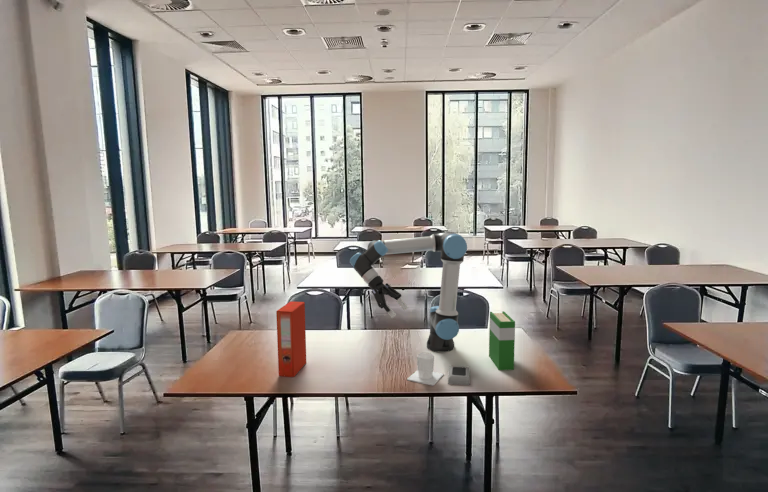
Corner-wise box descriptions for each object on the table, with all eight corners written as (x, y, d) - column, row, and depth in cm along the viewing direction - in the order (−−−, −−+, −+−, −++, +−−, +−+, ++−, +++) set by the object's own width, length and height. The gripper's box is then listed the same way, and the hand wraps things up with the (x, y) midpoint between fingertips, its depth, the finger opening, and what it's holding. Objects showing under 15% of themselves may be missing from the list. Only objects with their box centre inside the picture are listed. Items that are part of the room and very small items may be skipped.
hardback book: (488, 356, 238) (489, 311, 235) (502, 355, 239) (504, 311, 235) (498, 370, 221) (499, 322, 217) (513, 369, 221) (515, 321, 218)
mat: (418, 369, 222) (418, 368, 222) (443, 374, 216) (443, 373, 216) (407, 380, 211) (407, 379, 211) (433, 385, 205) (433, 384, 205)
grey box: (469, 364, 219) (469, 378, 205) (469, 372, 220) (469, 385, 205) (449, 363, 221) (448, 376, 206) (449, 371, 221) (448, 384, 207)
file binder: (307, 362, 233) (304, 301, 228) (294, 377, 216) (292, 311, 211) (291, 362, 234) (289, 301, 230) (278, 376, 217) (275, 310, 213)
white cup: (435, 373, 216) (435, 353, 215) (432, 380, 209) (432, 359, 207) (418, 372, 218) (418, 352, 217) (415, 378, 211) (415, 358, 209)
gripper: (380, 279, 240) (406, 310, 235) (355, 289, 218) (383, 324, 213) (389, 270, 236) (416, 301, 231) (365, 279, 215) (393, 314, 210)
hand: (400, 312), depth 222 cm, fingers open, 13 cm apart
